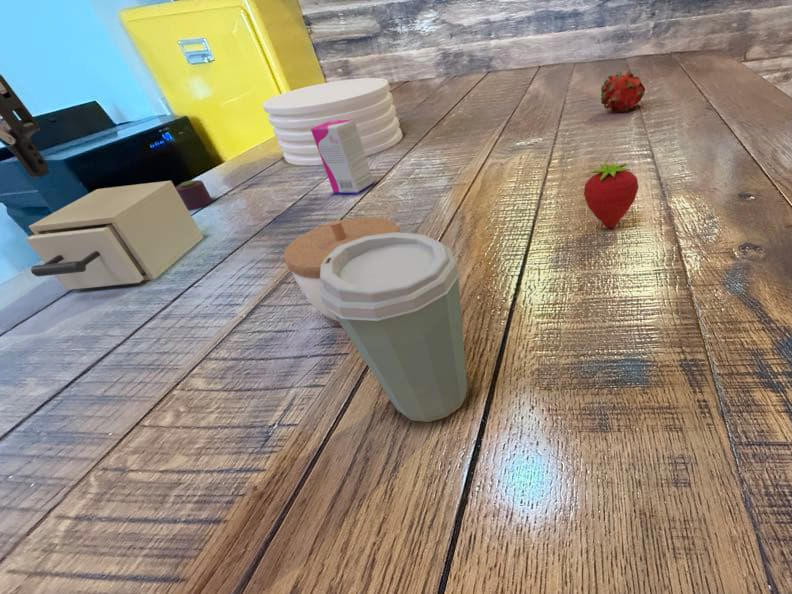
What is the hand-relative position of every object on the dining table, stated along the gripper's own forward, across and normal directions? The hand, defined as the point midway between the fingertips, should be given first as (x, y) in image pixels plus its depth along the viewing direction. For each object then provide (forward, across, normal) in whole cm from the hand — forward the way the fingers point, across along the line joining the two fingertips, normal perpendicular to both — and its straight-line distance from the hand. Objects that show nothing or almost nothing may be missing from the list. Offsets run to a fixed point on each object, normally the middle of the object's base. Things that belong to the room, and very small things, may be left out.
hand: (10, 179), depth 63 cm
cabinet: (+16, 0, -11) cm, 20 cm away
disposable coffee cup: (+17, -54, +29) cm, 63 cm away
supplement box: (+17, -28, -35) cm, 48 cm away
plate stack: (+17, -16, -68) cm, 72 cm away
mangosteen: (+16, +4, -36) cm, 40 cm away
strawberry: (+17, -74, -6) cm, 76 cm away
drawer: (+16, 0, -6) cm, 17 cm away
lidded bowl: (+17, -43, +11) cm, 47 cm away
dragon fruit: (+17, -83, -71) cm, 110 cm away
